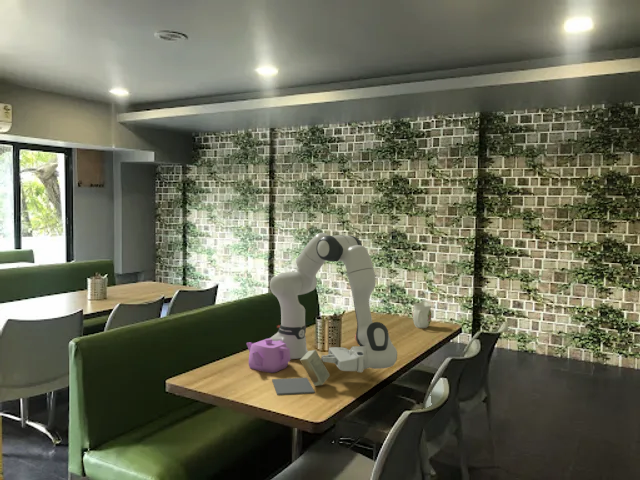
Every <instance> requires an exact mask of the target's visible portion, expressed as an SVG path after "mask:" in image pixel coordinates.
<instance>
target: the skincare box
mask: <svg viewBox="0 0 640 480" xmlns="http://www.w3.org/2000/svg"><path fill="white" fill-rule="evenodd" d="M299 361H300V363H301V364H302V367H303V368H304V371H306V373H307V375H308V377H309V378H310V380H311V382H312V384H313V385H314V386H315V387H316V386H323V384H324V383H325V382H326V381H327V380H328V379H329V378H330V376H331V375H330V372H329V371H328V370H327V367H326V366H325V364H324V362H323V361H322V359H321V357H320V356H319V354H318V352H317V350H316V349H313V350H308V352H307V353H306V354H305V355H304V356H303V357H302V358H299Z"/></svg>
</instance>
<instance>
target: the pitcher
mask: <svg viewBox="0 0 640 480" xmlns="http://www.w3.org/2000/svg"><path fill="white" fill-rule="evenodd" d="M412 305H413V310H412V322H413V325H414V326H415V327H416V328H418V329H427V328H428V327H429V326H430V324H431V321H432V310H431V308H432V304H431V303H428V301H420V302H416V303H413V304H412Z"/></svg>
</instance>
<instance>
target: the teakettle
mask: <svg viewBox="0 0 640 480" xmlns="http://www.w3.org/2000/svg"><path fill="white" fill-rule="evenodd" d="M270 338H271V337H269V338H265V339H262V340H259V341H257V342H252V341H251V342H246V347H247V349H248V351H249V354H248V367H249V369H251V370H255V371H259V372H264V373H271V374H274V373H277V372H280V371H282V370H284V369H286V368H287V367H288V364H289V363H290V362H291V359H290V348H287V347H286V344H285V343H284V342H283V341H280V340H279V341H272V340H273V339H270Z"/></svg>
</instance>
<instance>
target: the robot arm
mask: <svg viewBox="0 0 640 480" xmlns="http://www.w3.org/2000/svg"><path fill="white" fill-rule="evenodd" d="M295 262H296V267H297V268H296V269H295V270H292V271H290V272H289V271H288V272H286V271H285V272H281V273H278V274H276V275H273V276H272V277H271V279H270V282H269V289H270V292H271V293H272V294H273V296H275V298H277V300H278V302H279V306H280V315H281V316H280V318H281V319H280V323H281V324H278V325H276V328H277V329H278V330H277V332H276V333H274V335H272V336H271V337H269V338H270V339H273V340H272V341H279V340H280V341H283V342H284V343H285V344H286V347H287V348H290V360H295V359H297V360H299V359H301V358H302V357H303V356H304V355H305V354H306V353H307V352H308V351H309V350H308V348H307V338H306V337H307V336H306V331H307V325H306V309H305V307H304V305H303V304H301V303H300V300H299V296H301V295H305V294H309V293H310V292H312V291H314V290H315V289H316V287H317V284H318V279H317V274H318V272H319V271H320V270H321V268H322V267H323V265H324V264H325V263H326V262H342V263H343V264H344V266H345V270H346V274H347V280H348V283H349V286H350V290H351V295H352V300H353V306H354V312H355V318H356V331H355V335H356V340H357V341H356V340H355V341H356V343H357V344H358V346H357V345H355V346H351V347H350V349H348V348H347V347H337V346H336V347H335V346H334V347H333V346H332V347H329V348H328V354H326V355H321V357H320V359H321V360H322V362H323V363H330V364H335V365H336V368H338V370H340V371H341V372H342V371H343V372H357V373H363V372H364V370H366V369H373V370H374V369H375V370H378V369H387V368H391V367H393V366H394V365H395V364H396V362H397V359H398V350H397V348H396V347H395V345H394V344H393V342H392V339H391V337H390V335H389V330H388V327H387V326H386V325H385V324H384V323H382V322H379V321H375V322H373V319H372V313H371V306H370V299H371V295H372V293H373V291H374V289H375V287H376V275H375V274H376V273H375V269H374V265H373V262H372V258H371V256H370V253H369V252H368V249H367V248H366V247H365V246H364V245H363V244H362V242H361V240H360V239H359V238H358V237H356V236H354V235H345V234H338V235H337V234H336V235H329V234H328V233H326V232H318V233H317V234H315V235H314V236H313V237H312V238H311V239H310V240H309V241H308V242H307V244H306V245H305V247H303V249H302V250H301V252H300V254H299V255H298V256H297V258H296V261H295Z"/></svg>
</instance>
